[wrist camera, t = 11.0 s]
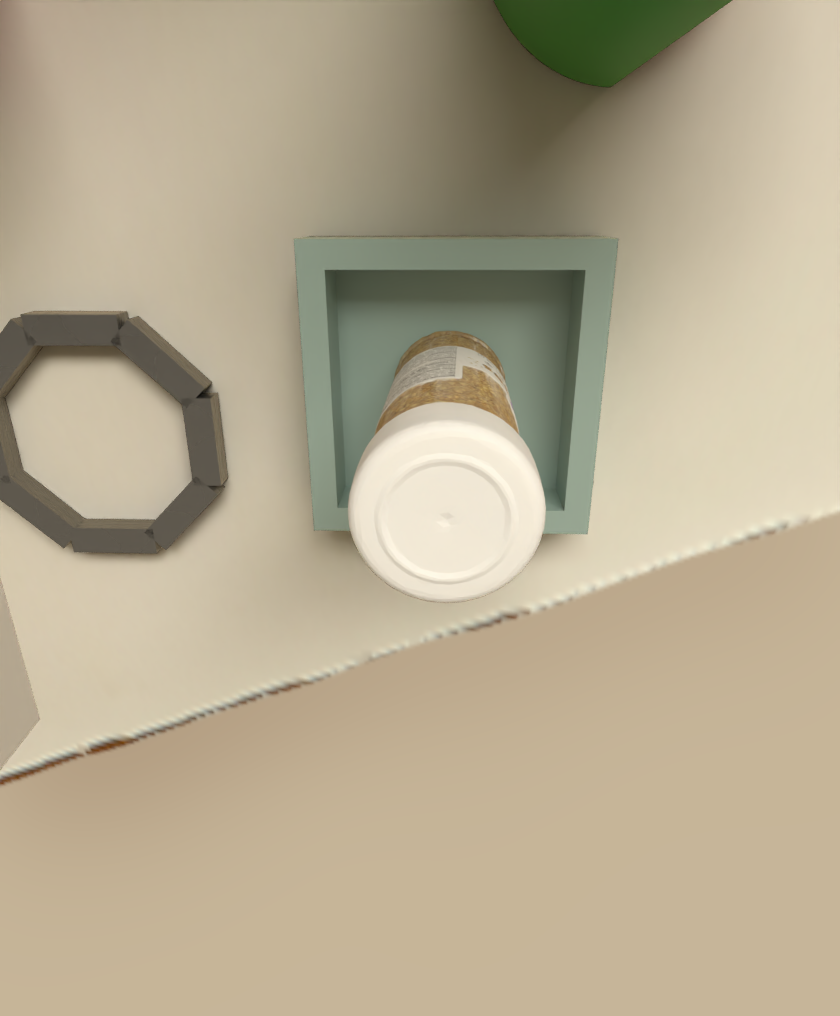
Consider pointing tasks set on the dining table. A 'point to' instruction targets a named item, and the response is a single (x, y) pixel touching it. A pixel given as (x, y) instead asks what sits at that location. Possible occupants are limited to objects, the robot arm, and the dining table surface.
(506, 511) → the white and tan cylinder
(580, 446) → the bin
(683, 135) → the dining table surface
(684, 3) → the green curved holder
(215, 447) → the socket ring
